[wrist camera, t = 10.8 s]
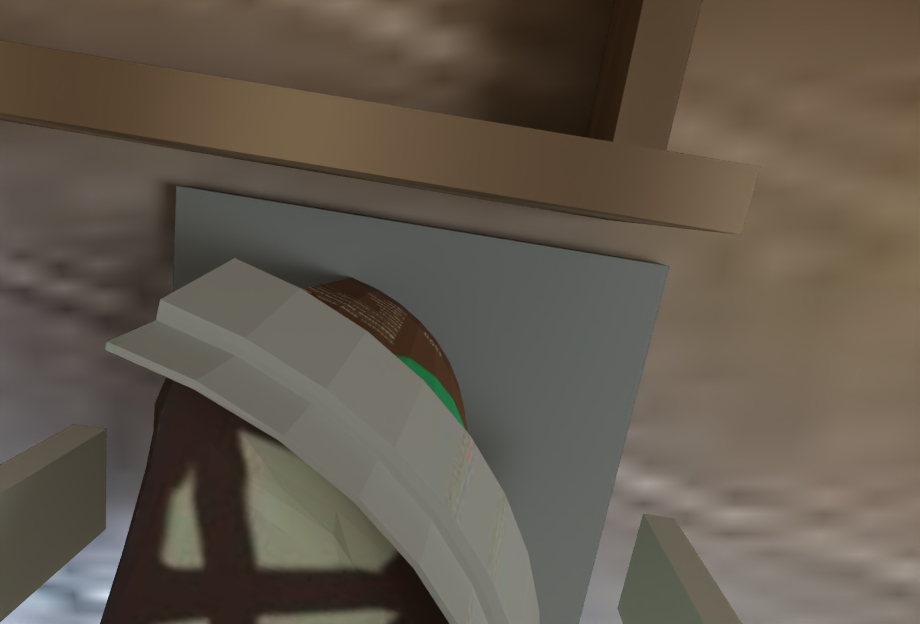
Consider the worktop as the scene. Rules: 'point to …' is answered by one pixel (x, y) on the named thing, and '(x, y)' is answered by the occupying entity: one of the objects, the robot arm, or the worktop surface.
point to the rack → (418, 129)
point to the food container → (310, 468)
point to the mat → (481, 348)
